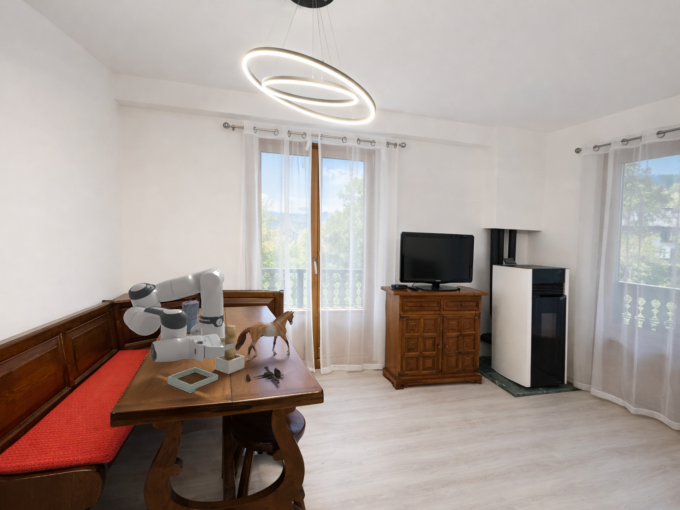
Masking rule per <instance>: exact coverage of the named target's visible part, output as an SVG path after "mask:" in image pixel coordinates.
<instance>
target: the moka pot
mask: <svg viewBox="0 0 680 510" xmlns="http://www.w3.org/2000/svg"><path fill="white" fill-rule="evenodd" d="M181 307H182V308H181V310H183V311H184V312H185V313H186V314H187V315H188V320H187V334H190V332H191V328H192V327H193V326H194V325H196V324H197V323H198V322H199V318H198V317H199V313H200V312H199V311H200V308H201V301H200V300H199V298H197V299H195V300H192V297H189V298H188V300H186V301H183V302H181Z"/></svg>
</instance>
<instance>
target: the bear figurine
mask: <svg viewBox="0 0 680 510" xmlns="http://www.w3.org/2000/svg"><path fill="white" fill-rule="evenodd" d="M263 368H264V369H265V372H264V373H263V374H261V375H257V376H253V379H256V380H260V379H267V380H269V379H273V380H274V382H275V383H276V385H280V383H281V382H280V379H278V378H280V377H282V376H284V375H285V374H284V373H282V371H281V370H280V369H278V368H277V367H274V368H273V371H271V370H270V369H269V367H268V365H266V366H264V367H263ZM273 372H274V373H273ZM245 376H246V377H245V378H246V380H247V381H248V382H251V381H252V377H251V376H250V374H248V373H247V374H246V375H245Z"/></svg>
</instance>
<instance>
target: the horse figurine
mask: <svg viewBox="0 0 680 510" xmlns="http://www.w3.org/2000/svg"><path fill="white" fill-rule="evenodd" d="M294 313H295V311H293V310H287V311H284V312H282V313H281V314H280V315H279V316H278V317H276V318H275V319H274V320H273V321H270V322H263V321H257V322H255V323H253V324H251V326H248V327H246V328H245V329H243V330H242V331H241V332H240V333H239V335H238V338H237V339H236V345H235V352H237V351H239V350H240V349H241V348H242V346H243V345H244V344H245V342H246V340H247V335H248V333H249V335H250V338H251V342H250V344H249V346H248V350H247V355H246V358H247V361H251V360H252V359H251V357H250V355H251V352H252V349H253V353H254V354H253V355H254V356H255V357H258V351H257V349H256V347H255V346H256V344H257V342H258V341H259V340H260V339H261V338H262V337H267V338H271V337H272V338H273V343H272V350H271V351H272V353H273V355H274V356H276V355H278V353H277V351H275V347H276V344H277V338H278V337H280V338H281V339H282V340H283V341H284V343H285V344H286V346H287V350H286V353H287V354H288V355H290V353H291V352H290V351H291V348H290V343H289V340H288V337H287V335H286V334H287V332H288V331H287V327H286V325H287V322H288V323H289V325H290V326H292V325H293V324H294V322H293V320H294V317H295V315H294Z"/></svg>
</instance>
